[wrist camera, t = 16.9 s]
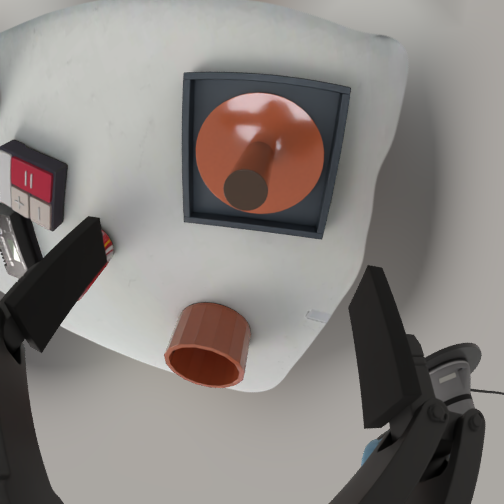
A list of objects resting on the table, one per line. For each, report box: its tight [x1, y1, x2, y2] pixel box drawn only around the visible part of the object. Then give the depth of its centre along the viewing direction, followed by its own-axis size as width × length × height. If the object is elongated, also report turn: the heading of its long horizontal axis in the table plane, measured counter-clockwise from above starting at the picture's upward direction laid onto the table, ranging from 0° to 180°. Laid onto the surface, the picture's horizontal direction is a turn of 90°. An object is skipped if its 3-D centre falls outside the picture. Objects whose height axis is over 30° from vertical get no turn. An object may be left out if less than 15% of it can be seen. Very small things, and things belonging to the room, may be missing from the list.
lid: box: [196, 92, 324, 214], centre depth 24 cm, size 14×14×11 cm
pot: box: [164, 303, 251, 388], centre depth 43 cm, size 13×13×8 cm
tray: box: [182, 72, 351, 239], centre depth 28 cm, size 18×17×2 cm
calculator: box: [0, 140, 67, 231], centre depth 32 cm, size 11×4×15 cm
